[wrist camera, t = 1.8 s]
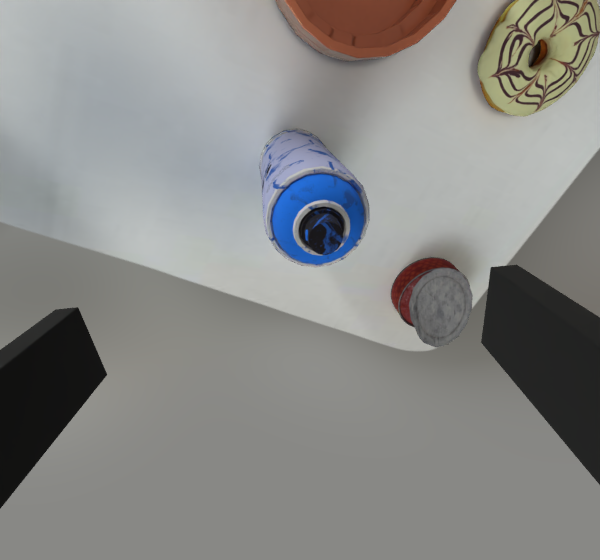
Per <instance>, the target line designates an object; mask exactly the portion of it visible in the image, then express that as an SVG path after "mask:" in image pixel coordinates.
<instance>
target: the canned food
mask: <svg viewBox="0 0 600 560" xmlns="http://www.w3.org/2000/svg"><path fill="white" fill-rule="evenodd" d="M391 299H392V303H393V305H394V307H395V308H396V309H397V311H398V313H399V314H400V316H401V318H402V319H403V320H404V322H405V323H407V324H408V325H410V326H412V327H415V329H416V331H417V334H418V336H419V337H420V339H421V340H422V341H423V342H424V343H426V344H429V345H432V346H434V347H439V346H443V345H448V344H449V343H450V342H451V341H453V340H454V339H455V338H457V337H458V336H459V334H460V333H461V331H462V330H463V328H464V327H465V326H466V324H467V321H468V318H469V315H470V312H471V310H472V293H471V290H470V285H469V282H468V280H467V278H466V277H465V275H463V274H462V273H461V272H460V271H459V270H458V269H457V268H456V267H455V266H454V265H453V264H452V263H450V262H449V261H447V260H445V259H441V258H425V259H422V260H419V261H416V262H414V263H412V264H410V265H409V266H408V267H406V268H405V269H404V270H403V271H402V272H401V273H400V274H399V275H398V277H397V278H396V280H395V282H394V284H393V287H392V290H391Z"/></svg>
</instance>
